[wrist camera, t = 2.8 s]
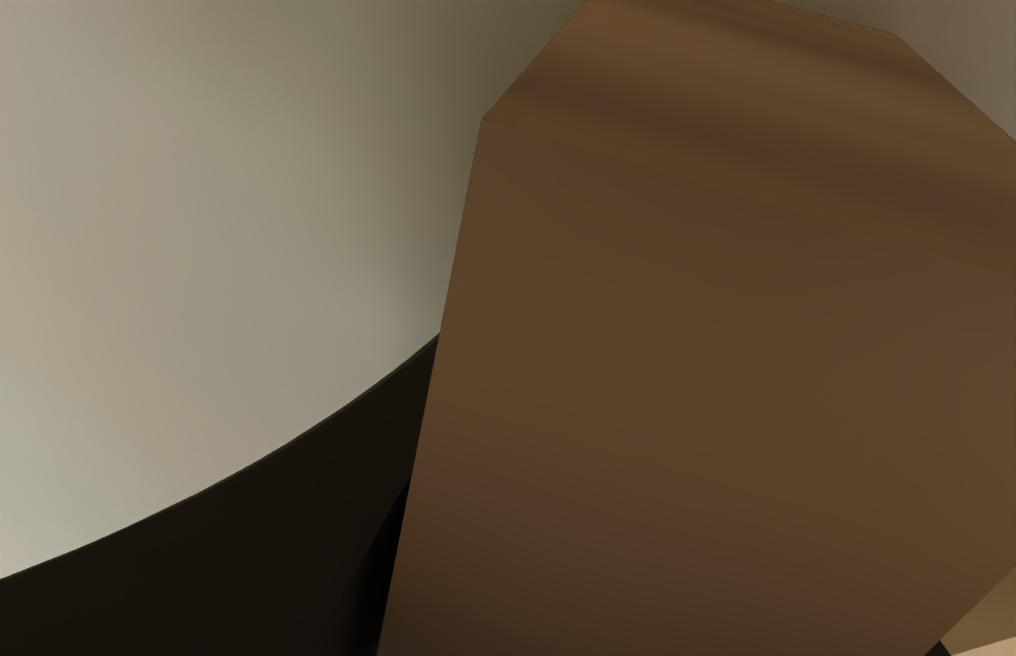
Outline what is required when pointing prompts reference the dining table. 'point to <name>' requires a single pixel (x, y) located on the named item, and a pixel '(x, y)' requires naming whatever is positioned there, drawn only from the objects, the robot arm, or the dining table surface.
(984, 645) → the wooden stand base
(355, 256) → the dining table surface
